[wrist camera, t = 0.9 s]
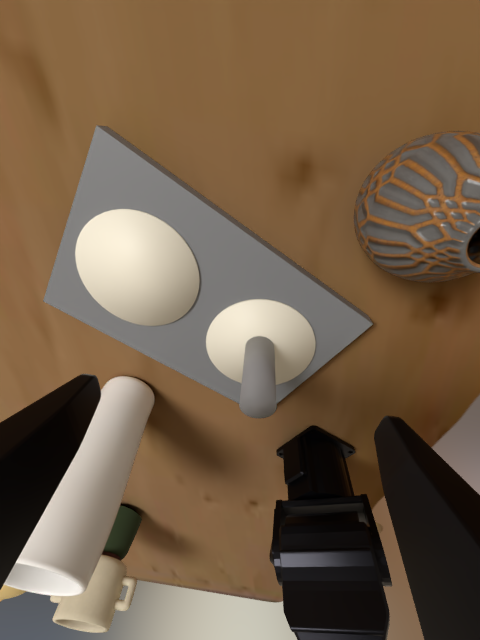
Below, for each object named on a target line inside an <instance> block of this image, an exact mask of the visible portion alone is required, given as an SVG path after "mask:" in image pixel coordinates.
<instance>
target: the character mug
mask: <svg viewBox="0 0 480 640" xmlns="http://www.w3.org/2000/svg"><path fill="white" fill-rule="evenodd" d="M141 521H142V518H141V517H140V516H139V515H138V514H137V513H136V512H134V511H133V510H132V509H129V508H127V507H124V506H120V508H119V511H118V513H117V516H116V519H115V522H114V525H113V527H112V530H111V533H110V535H109V538H108V540H107V543H106V545H105V548H104V550H103V552H102V555H101V557H100V559H99V562H98V564H97V566H96V569H95V571H94V573H93V575H92V577H91V580H90V582H89V584H88V587H87V589H86V590H85V592H83V593H82V594H79V595H76V596H52V595H51V598H50V601H52V602H55V603H59V605H58V607H57V610H56V612H55V614H54V617H53V622H55V623H57V624H59V625H62V626H65V627H68V628H71V629H75V630H79V631H85V632H95V633H100V632H107V631H108V630H109V628H110V625H111V622H112V619H113V616H114V613H115V610H120V611H125V610H128V609H129V607H130V605H131V601H132V598H133V595H134V591H135V587H136V584H137V579H136V578H135V577H129V576H126V565H125V564H124V563H123V562H122V561H121V560H122V559H123V558H124V557H125V556H126V554H127V553H128V551H129V548H130V546H131V544H132V542H133V540H134V537H135V535H136V533H137V530H138V528H139V526H140V523H141ZM123 586H129V588H128V591H127V594H126V597H125V600H119V598H120V594H121V591H122V588H123Z"/></svg>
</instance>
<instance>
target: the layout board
mask: <svg viewBox="0 0 480 640" xmlns="http://www.w3.org/2000/svg"><path fill="white" fill-rule="evenodd" d="M43 301H44V302H46V303H48V304H50V305H51V306H53V307H55V308H57V309H59V310H61V311H63V312H65V313H67V314H69V315H71V316H72V317H74V318H76V319H78V320H80V321H82V322H84V323H86V324H88V325H90V326H92V327H94V328H95V329H97V330H99V331H101V332H103V333H105V334H107V335H109V336H111V337H113V338H115V339H116V340H118V341H120V342H122V343H124V344H126V345H128V346H130V347H132V348H134V349H136V350H137V351H139V352H141V353H143V354H145V355H147V356H149V357H151V358H153V359H155V360H157V361H159V362H160V363H162V364H164V365H166V366H168V367H170V368H172V369H174V370H176V371H178V372H180V373H181V374H183V375H185V376H187V377H189V378H191V379H193V380H195V381H197V382H199V383H201V384H202V385H204V386H206V387H208V388H210V389H212V390H214V391H216V392H218V393H220V394H222V395H224V396H225V397H227V398H229V399H231V400H233V401H235V402H237V403H239V406H240V409H241V411H242V412H243V413H244V414H245V415H247V416H249V417H253V418H265V417H268V416H271V415H272V414H273V413H274V412H275V411H276V408H277V403H278V402H280V401H281V400H282V399H283V398H284V397H286V396H287V395H288V394H289V393H290V392H292V391H293V390H294V389H295V388H297V387H298V386H299V385H300V384H301V383H303V382H304V381H305V380H306V379H307V378H309V377H310V376H311V375H312V374H313V373H315V372H316V371H317V370H318V369H319V368H321V367H322V366H323V365H324V364H326V363H327V362H328V361H329V360H330V359H332V358H333V357H334V356H335V355H336V354H338V353H339V352H340V351H341V350H342V349H344V348H345V347H346V346H347V345H349V344H350V343H351V342H352V341H353V340H355V339H356V338H357V337H358V336H359V335H361V334H362V333H363V332H364V331H365V330H367V329H368V328H369V327H370V326H371V325H373V323H372V321H371V320H370V318H369V316H368V315H367V314H365V313H364V312H362V311H361V310H360V309H358V308H357V307H355V306H354V305H353V304H351V303H350V302H349V301H347V300H346V299H344V298H343V297H342V296H340V295H339V294H338V293H336V292H335V291H333V290H332V289H331V288H329V287H328V286H326V285H325V284H324V283H322V282H321V281H320V280H318V279H317V278H315V277H314V276H313V275H311V274H310V273H309V272H307V271H306V270H304V269H303V268H302V267H300V266H299V265H298V264H296V263H295V262H293V261H292V260H291V259H289V258H288V257H286V256H285V255H284V254H282V253H281V252H280V251H278V250H277V249H275V248H274V247H273V246H271V245H270V244H269V243H267V242H266V241H264V240H263V239H262V238H260V237H259V236H258V235H256V234H255V233H253V232H252V231H251V230H249V229H248V228H246V227H245V226H244V225H242V224H241V223H240V222H238V221H237V220H235V219H234V218H233V217H231V216H230V215H229V214H227V213H226V212H224V211H223V210H222V209H220V208H219V207H218V206H216V205H215V204H213V203H212V202H211V201H209V200H208V199H206V198H205V197H204V196H202V195H201V194H200V193H198V192H197V191H195V190H194V189H193V188H191V187H190V186H189V185H187V184H186V183H184V182H183V181H182V180H180V179H179V178H178V177H176V176H175V175H173V174H172V173H171V172H169V171H168V170H166V169H165V168H164V167H162V166H161V165H160V164H158V163H157V162H155V161H154V160H153V159H151V158H150V157H149V156H147V155H146V154H144V153H143V152H142V151H140V150H139V149H138V148H136V147H135V146H133V145H132V144H131V143H129V142H128V141H126V140H125V139H124V138H122V137H121V136H120V135H118V134H117V133H115V132H114V131H113V130H111V129H110V128H109V127H107V126H96V129H95V132H94V136H93V139H92V142H91V145H90V149H89V152H88V155H87V159H86V162H85V165H84V169H83V172H82V175H81V178H80V182H79V185H78V188H77V192H76V195H75V198H74V201H73V205H72V208H71V211H70V215H69V218H68V221H67V225H66V228H65V231H64V234H63V238H62V241H61V244H60V248H59V251H58V254H57V257H56V261H55V264H54V267H53V271H52V274H51V277H50V280H49V284H48V287H47V290H46V294H45V297H44V300H43Z"/></svg>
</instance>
